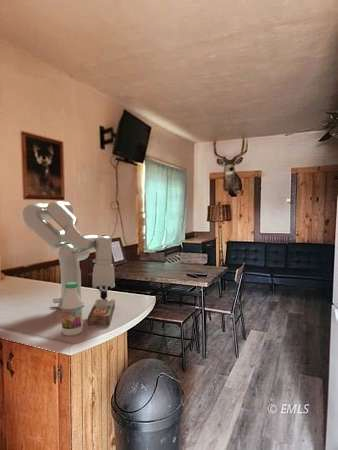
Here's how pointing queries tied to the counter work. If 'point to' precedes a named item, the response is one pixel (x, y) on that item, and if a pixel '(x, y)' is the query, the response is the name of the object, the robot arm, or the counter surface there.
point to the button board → (101, 318)
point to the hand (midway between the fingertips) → (103, 299)
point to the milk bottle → (71, 311)
